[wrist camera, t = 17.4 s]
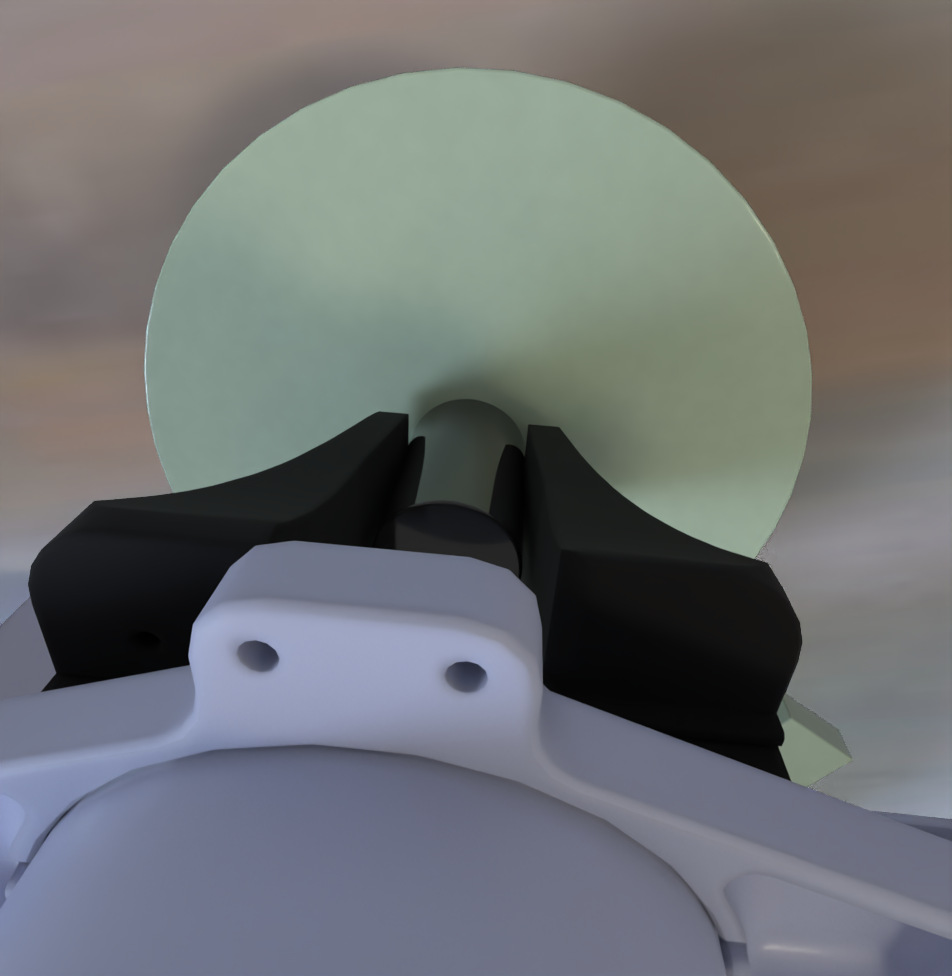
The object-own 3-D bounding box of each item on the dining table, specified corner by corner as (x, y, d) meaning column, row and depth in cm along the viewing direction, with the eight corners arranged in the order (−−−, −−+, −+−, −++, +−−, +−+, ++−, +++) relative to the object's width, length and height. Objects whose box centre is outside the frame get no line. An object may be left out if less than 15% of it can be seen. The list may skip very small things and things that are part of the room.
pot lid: (80, 470, 16) (-87, 608, 12) (377, -140, 10) (260, -314, 6) (521, 726, 20) (518, 908, 15) (939, 379, 14) (1131, 514, 9)
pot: (327, 775, 29) (277, 937, 23) (616, 493, 21) (645, 638, 15) (555, 893, 32) (559, 1060, 26) (885, 687, 24) (990, 866, 18)
